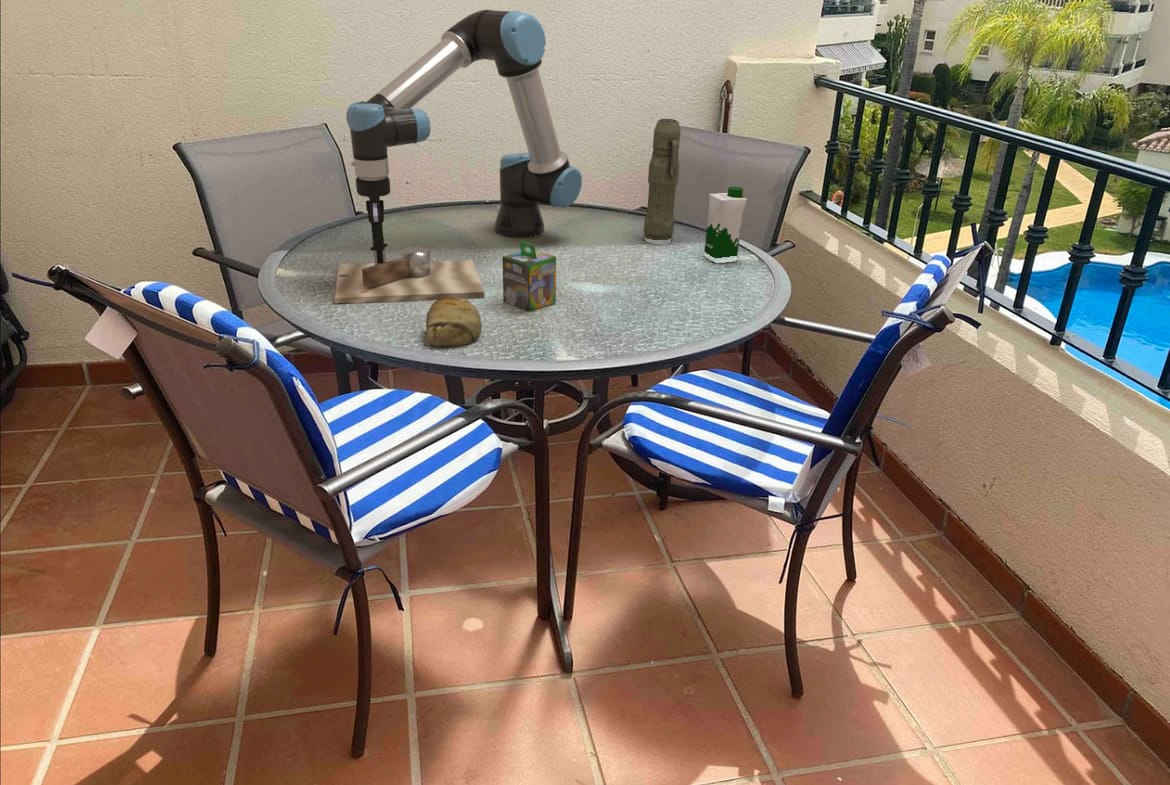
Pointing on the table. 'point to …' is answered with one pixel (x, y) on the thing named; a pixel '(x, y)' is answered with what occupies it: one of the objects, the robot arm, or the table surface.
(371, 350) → the table surface
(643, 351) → the table surface
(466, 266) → the dial board
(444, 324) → the pastry
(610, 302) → the table surface
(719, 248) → the milk carton
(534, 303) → the chalk box
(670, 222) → the thermos
